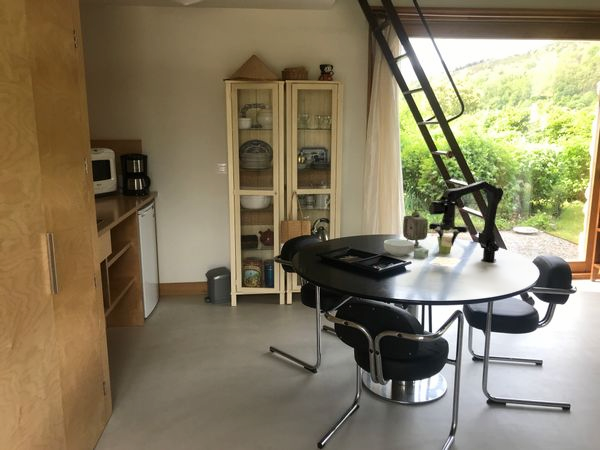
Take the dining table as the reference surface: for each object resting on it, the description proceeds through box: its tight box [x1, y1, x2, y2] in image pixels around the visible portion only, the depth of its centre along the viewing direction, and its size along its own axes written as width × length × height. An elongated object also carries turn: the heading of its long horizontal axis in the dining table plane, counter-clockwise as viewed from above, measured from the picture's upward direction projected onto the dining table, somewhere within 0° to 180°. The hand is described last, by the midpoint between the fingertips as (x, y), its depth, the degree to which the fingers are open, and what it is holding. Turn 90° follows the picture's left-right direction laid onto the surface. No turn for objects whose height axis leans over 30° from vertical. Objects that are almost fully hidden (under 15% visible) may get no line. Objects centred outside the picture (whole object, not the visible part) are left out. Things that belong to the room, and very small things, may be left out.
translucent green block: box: [413, 247, 430, 259], centre depth 265 cm, size 6×6×4 cm
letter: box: [428, 256, 462, 268], centre depth 255 cm, size 18×13×1 cm
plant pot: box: [436, 235, 452, 254], centre depth 275 cm, size 9×9×9 cm
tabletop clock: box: [402, 203, 429, 248], centre depth 293 cm, size 14×9×25 cm, turn 17°
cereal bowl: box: [383, 238, 415, 257], centre depth 270 cm, size 17×17×7 cm
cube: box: [441, 234, 454, 248], centre depth 251 cm, size 5×5×5 cm
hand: (447, 243), depth 251 cm, fingers closed on cube, 5 cm apart
